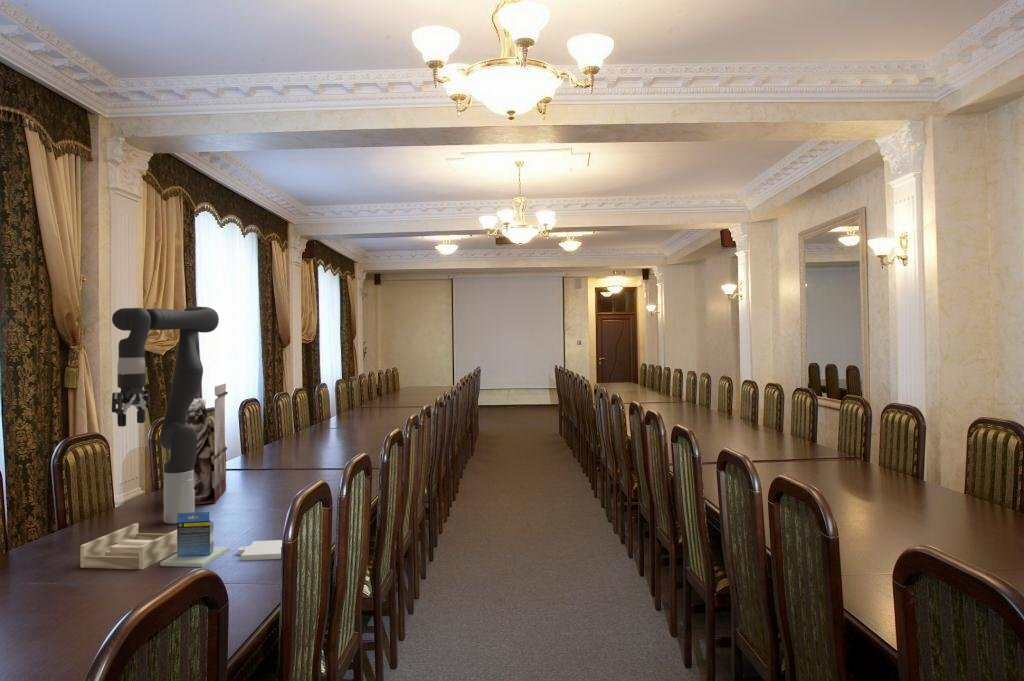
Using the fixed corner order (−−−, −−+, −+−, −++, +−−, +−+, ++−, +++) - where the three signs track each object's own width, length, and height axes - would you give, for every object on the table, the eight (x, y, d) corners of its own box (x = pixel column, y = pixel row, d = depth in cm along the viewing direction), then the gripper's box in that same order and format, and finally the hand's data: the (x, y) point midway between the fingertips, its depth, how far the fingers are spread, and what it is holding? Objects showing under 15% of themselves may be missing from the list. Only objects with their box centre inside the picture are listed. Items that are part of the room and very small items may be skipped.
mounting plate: (231, 562, 178) (231, 555, 178) (245, 548, 191) (245, 541, 191) (297, 559, 180) (297, 552, 180) (306, 545, 193) (306, 538, 193)
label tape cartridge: (214, 551, 184) (214, 508, 184) (210, 555, 180) (210, 511, 180) (181, 552, 182) (181, 509, 182) (176, 557, 178) (176, 513, 179)
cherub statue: (178, 493, 261) (178, 384, 261) (227, 491, 266) (227, 383, 266) (164, 507, 239) (164, 387, 239) (218, 504, 244) (218, 386, 244)
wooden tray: (135, 542, 195) (135, 523, 195) (191, 544, 194) (191, 524, 194) (80, 567, 173) (80, 545, 173) (142, 569, 172) (142, 547, 172)
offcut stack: (121, 554, 185) (121, 539, 185) (160, 555, 184) (160, 540, 184) (104, 563, 178) (104, 546, 178) (144, 564, 177) (144, 547, 177)
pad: (190, 549, 188) (190, 546, 188) (229, 550, 187) (229, 547, 187) (160, 565, 174) (160, 562, 174) (202, 566, 173) (202, 563, 173)
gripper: (135, 371, 204) (135, 421, 204) (103, 373, 190) (103, 427, 190) (157, 371, 204) (157, 422, 204) (127, 373, 190) (127, 427, 189)
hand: (131, 424), depth 197 cm, fingers open, 8 cm apart
